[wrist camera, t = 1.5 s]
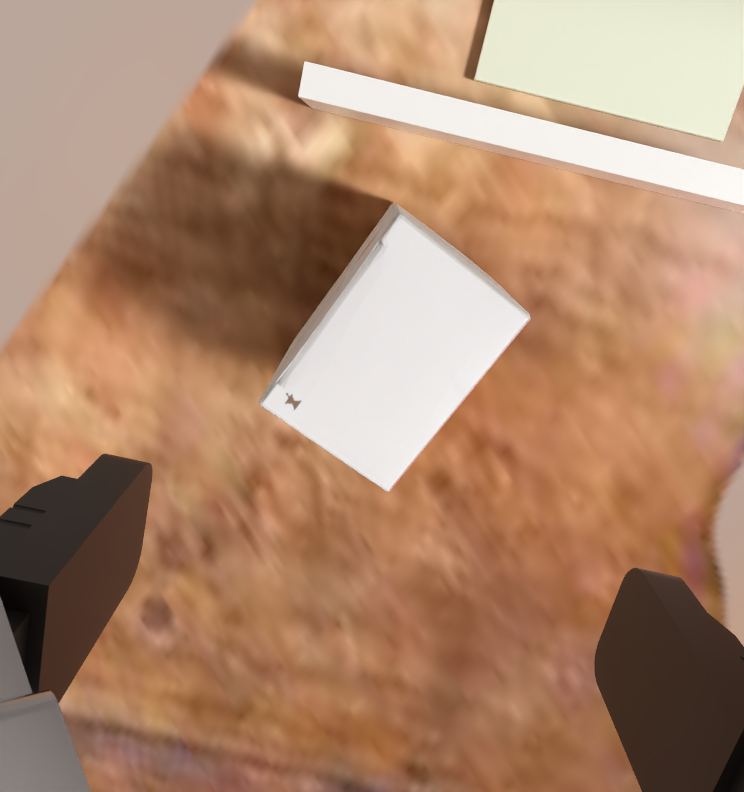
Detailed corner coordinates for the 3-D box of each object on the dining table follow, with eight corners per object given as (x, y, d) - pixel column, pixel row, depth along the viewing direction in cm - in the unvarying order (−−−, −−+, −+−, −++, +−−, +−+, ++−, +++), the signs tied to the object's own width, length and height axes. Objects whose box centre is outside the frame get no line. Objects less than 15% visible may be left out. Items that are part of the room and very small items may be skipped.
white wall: (761, 187, 31) (829, 190, 26) (750, 215, 31) (816, 222, 26) (317, 78, 30) (304, 60, 25) (311, 108, 30) (297, 96, 25)
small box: (385, 404, 34) (386, 501, 24) (292, 337, 33) (252, 409, 23) (490, 273, 32) (538, 319, 22) (393, 197, 31) (398, 210, 21)
